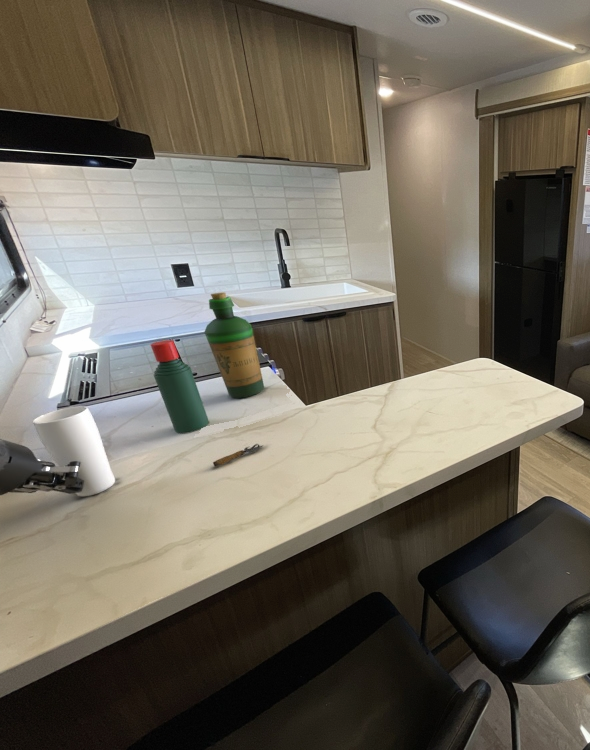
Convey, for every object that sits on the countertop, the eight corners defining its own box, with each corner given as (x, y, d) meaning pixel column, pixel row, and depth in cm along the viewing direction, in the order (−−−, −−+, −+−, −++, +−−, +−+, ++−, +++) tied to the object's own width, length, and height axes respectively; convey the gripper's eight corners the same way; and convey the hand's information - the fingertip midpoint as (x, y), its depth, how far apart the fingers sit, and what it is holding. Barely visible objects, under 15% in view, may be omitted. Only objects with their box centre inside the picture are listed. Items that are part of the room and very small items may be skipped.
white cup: (108, 475, 77) (75, 403, 71) (129, 481, 74) (97, 408, 69) (62, 496, 71) (22, 420, 66) (83, 504, 68) (43, 425, 63)
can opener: (215, 468, 77) (213, 463, 76) (211, 464, 78) (210, 459, 78) (265, 448, 83) (264, 443, 83) (261, 444, 84) (259, 440, 84)
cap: (183, 356, 90) (177, 340, 89) (165, 362, 87) (158, 345, 85) (170, 356, 91) (165, 339, 90) (152, 361, 88) (145, 344, 86)
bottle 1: (169, 435, 91) (136, 351, 84) (184, 422, 97) (155, 343, 90) (201, 431, 92) (171, 348, 85) (214, 418, 98) (187, 340, 91)
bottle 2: (226, 404, 107) (192, 298, 97) (224, 392, 115) (193, 294, 105) (271, 393, 112) (243, 292, 102) (266, 383, 120) (240, 289, 111)
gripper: (-104, 501, 51) (25, 517, 66) (22, 482, 53) (118, 501, 69) (-81, 444, 54) (38, 472, 69) (37, 428, 56) (126, 459, 72)
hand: (78, 486), depth 69 cm, fingers closed
